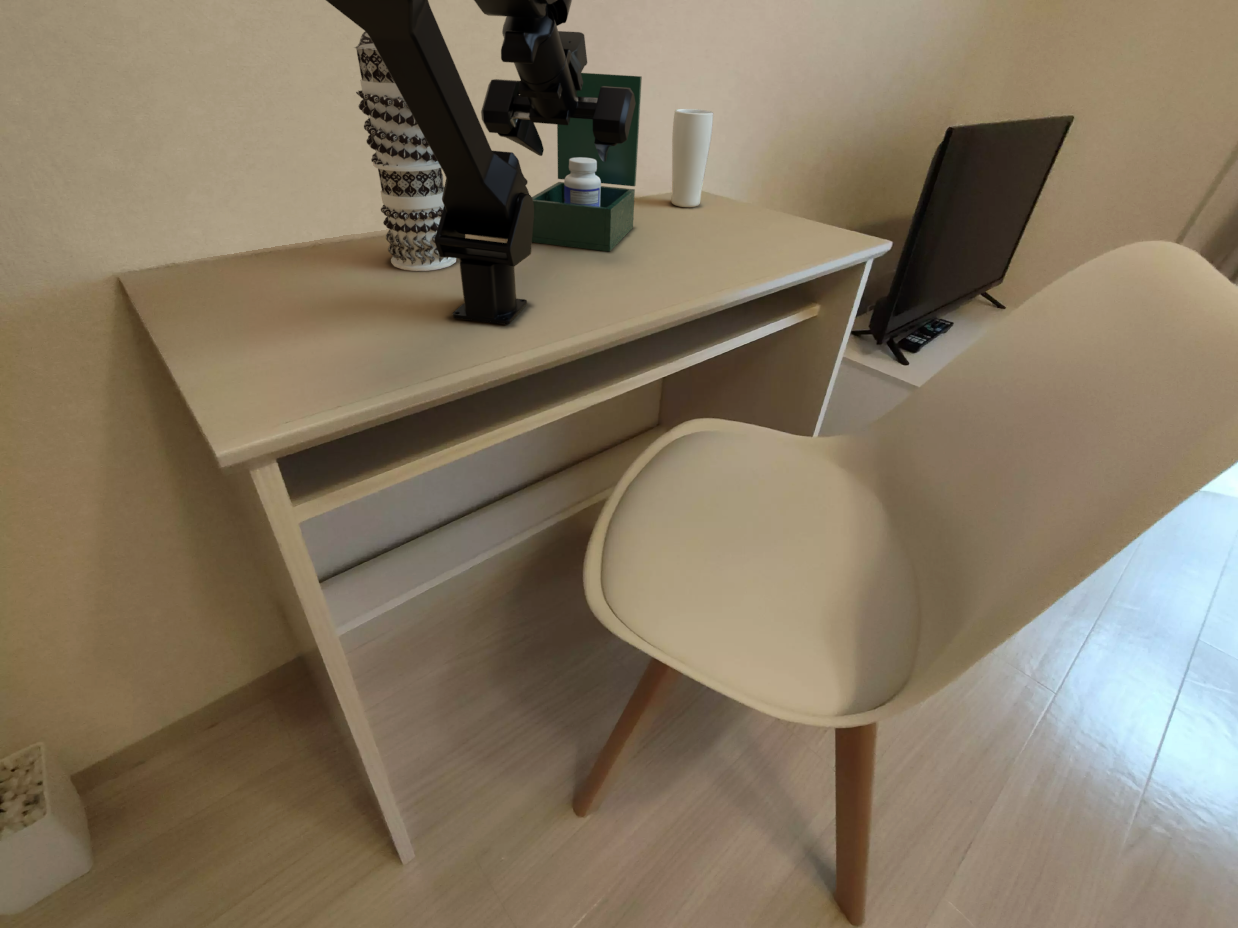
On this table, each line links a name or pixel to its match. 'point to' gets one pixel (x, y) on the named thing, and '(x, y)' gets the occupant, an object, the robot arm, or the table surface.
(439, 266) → the black and white cylinder
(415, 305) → the table surface
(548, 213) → the green open box
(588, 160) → the pill bottle
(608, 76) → the green box lid
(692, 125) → the white tumbler
